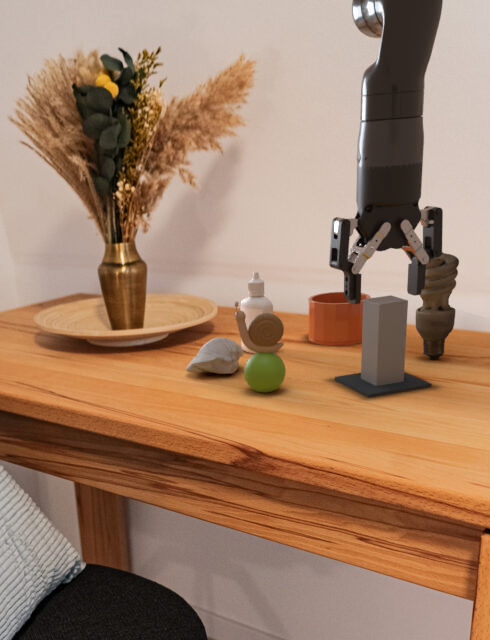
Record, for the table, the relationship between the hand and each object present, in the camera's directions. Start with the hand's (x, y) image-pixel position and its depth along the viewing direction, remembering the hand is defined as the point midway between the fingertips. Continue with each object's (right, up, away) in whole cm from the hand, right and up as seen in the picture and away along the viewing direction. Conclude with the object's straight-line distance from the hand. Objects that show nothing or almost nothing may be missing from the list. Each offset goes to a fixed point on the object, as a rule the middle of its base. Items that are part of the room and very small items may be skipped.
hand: (384, 298), depth 106 cm
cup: (0, +1, +28) cm, 28 cm away
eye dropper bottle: (-13, -2, +25) cm, 28 cm away
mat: (+1, -10, +4) cm, 11 cm away
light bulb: (+10, -5, +13) cm, 18 cm away
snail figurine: (-15, -11, +5) cm, 19 cm away
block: (+1, -10, +4) cm, 11 cm away
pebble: (-20, -7, +16) cm, 26 cm away
